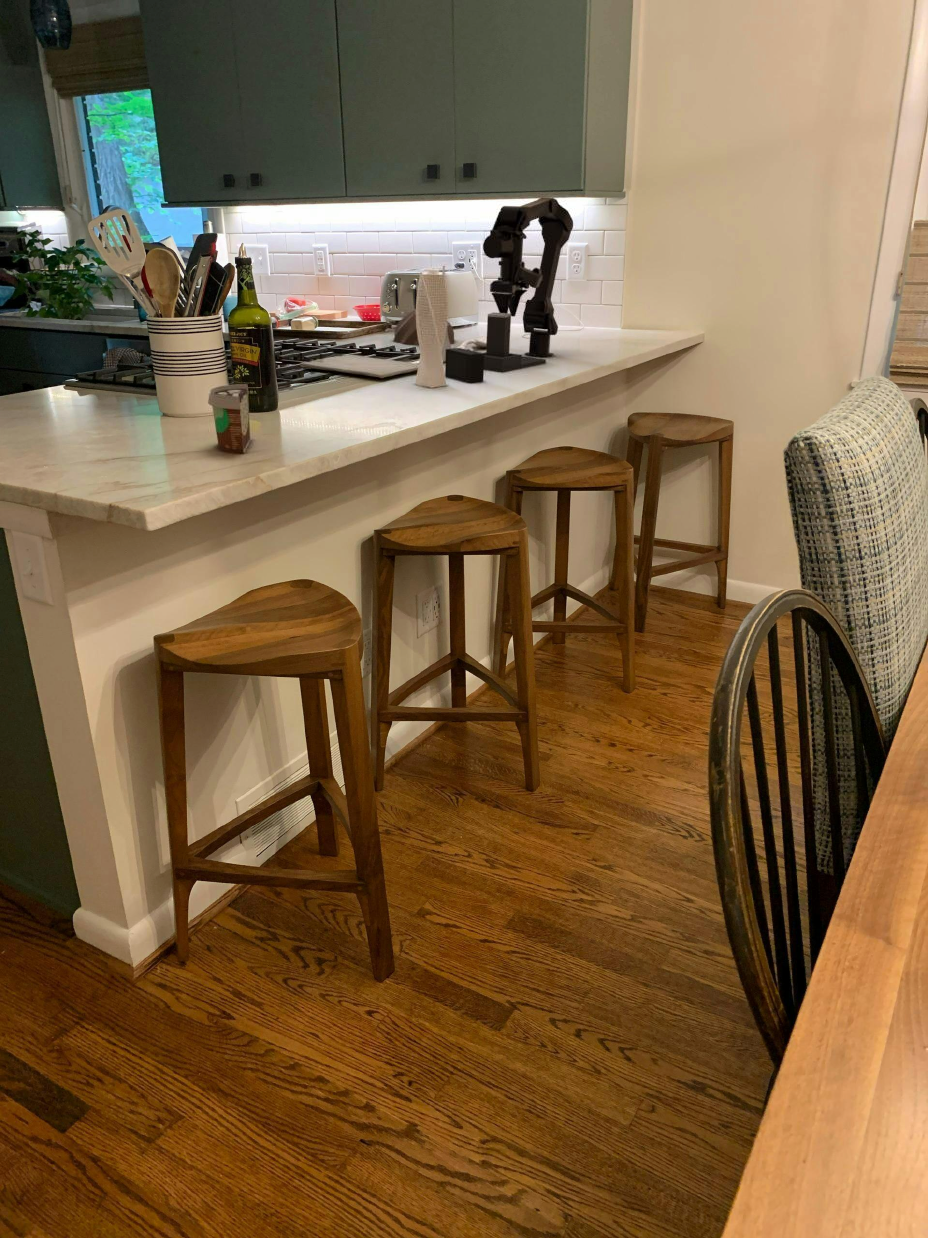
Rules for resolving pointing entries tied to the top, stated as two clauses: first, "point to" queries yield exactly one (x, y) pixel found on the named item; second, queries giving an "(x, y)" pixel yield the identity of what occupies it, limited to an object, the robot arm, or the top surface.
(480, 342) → the spoon
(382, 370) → the decorative slab
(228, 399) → the food container
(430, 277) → the skyscraper
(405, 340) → the decorative dome
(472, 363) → the black rectangular block
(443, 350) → the flask
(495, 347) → the pad block
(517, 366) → the dark grey tray
